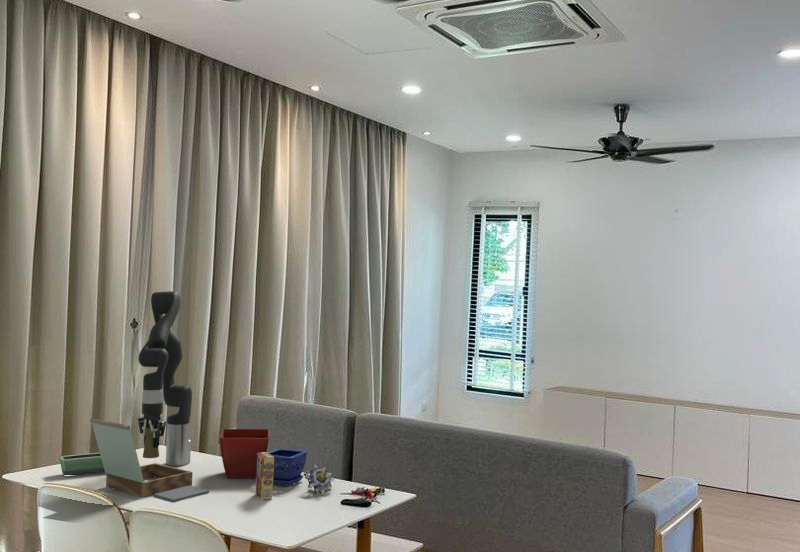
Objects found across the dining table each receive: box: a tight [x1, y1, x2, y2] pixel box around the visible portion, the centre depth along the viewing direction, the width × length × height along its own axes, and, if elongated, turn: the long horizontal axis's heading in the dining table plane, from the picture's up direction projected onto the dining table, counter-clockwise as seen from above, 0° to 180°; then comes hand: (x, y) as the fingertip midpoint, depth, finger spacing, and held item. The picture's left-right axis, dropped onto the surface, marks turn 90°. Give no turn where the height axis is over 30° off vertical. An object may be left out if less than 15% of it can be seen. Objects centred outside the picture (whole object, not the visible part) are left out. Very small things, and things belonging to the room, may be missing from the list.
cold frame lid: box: [89, 418, 145, 483], centre depth 276 cm, size 22×22×1 cm
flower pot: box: [267, 448, 307, 487], centre depth 298 cm, size 13×13×12 cm
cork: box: [142, 428, 160, 459], centre depth 288 cm, size 6×6×11 cm
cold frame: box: [105, 462, 193, 498], centre depth 288 cm, size 22×22×5 cm
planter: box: [59, 452, 106, 476], centre depth 307 cm, size 28×7×7 cm, turn 124°
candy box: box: [255, 451, 274, 501], centre depth 278 cm, size 9×4×15 cm, turn 26°
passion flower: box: [303, 464, 335, 495], centre depth 287 cm, size 11×11×12 cm
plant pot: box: [219, 428, 270, 479], centre depth 309 cm, size 19×19×17 cm
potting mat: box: [153, 485, 210, 503], centre depth 278 cm, size 16×11×1 cm
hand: (151, 446), depth 288 cm, fingers closed on cork, 4 cm apart
